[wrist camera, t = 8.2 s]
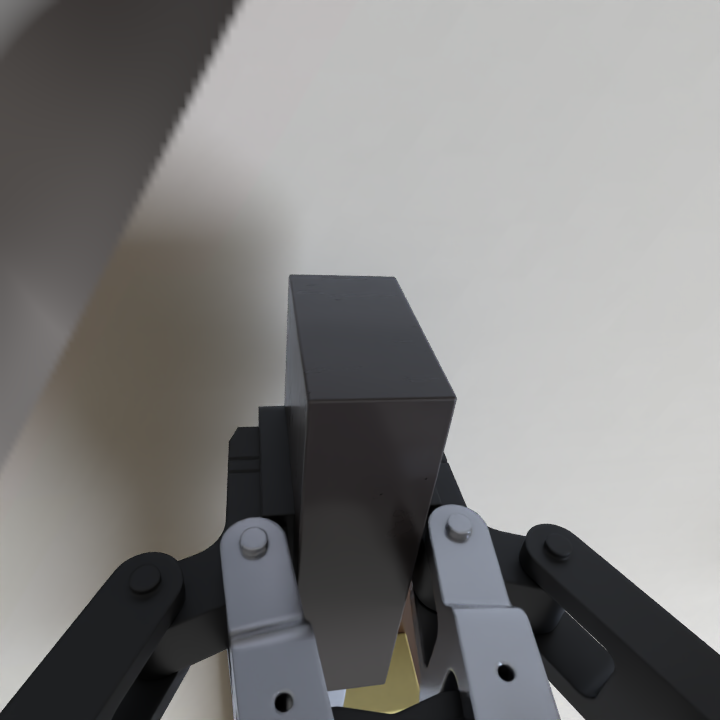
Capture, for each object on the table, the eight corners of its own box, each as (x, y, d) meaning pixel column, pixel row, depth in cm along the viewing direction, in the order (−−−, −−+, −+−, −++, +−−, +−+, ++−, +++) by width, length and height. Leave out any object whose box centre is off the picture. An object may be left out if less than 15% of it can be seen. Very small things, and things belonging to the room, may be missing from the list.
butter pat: (309, 672, 24) (316, 750, 21) (312, 642, 23) (320, 721, 20) (398, 661, 25) (414, 735, 22) (405, 631, 23) (424, 707, 21)
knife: (288, 273, 12) (307, 401, 8) (395, 275, 12) (459, 398, 9) (273, 702, 22) (279, 843, 19) (332, 694, 23) (348, 830, 19)
